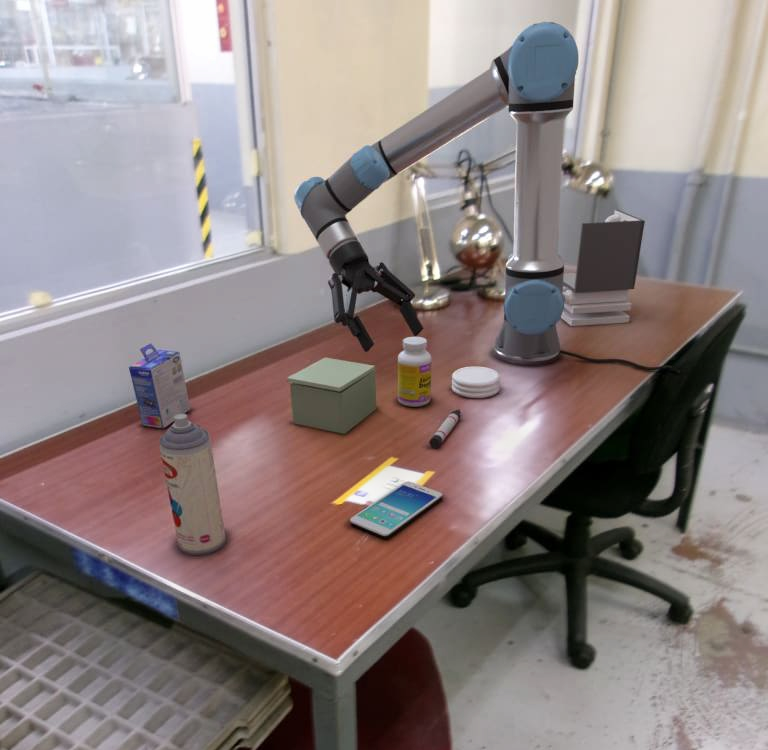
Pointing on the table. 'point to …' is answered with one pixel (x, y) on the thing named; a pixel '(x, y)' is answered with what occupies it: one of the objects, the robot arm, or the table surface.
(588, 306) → the stack of books
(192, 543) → the aerosol can
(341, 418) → the chest
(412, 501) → the smartphone
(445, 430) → the marker
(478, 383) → the coaster
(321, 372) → the lid
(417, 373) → the supplement bottle
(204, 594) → the table surface
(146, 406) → the ink cartridge box
